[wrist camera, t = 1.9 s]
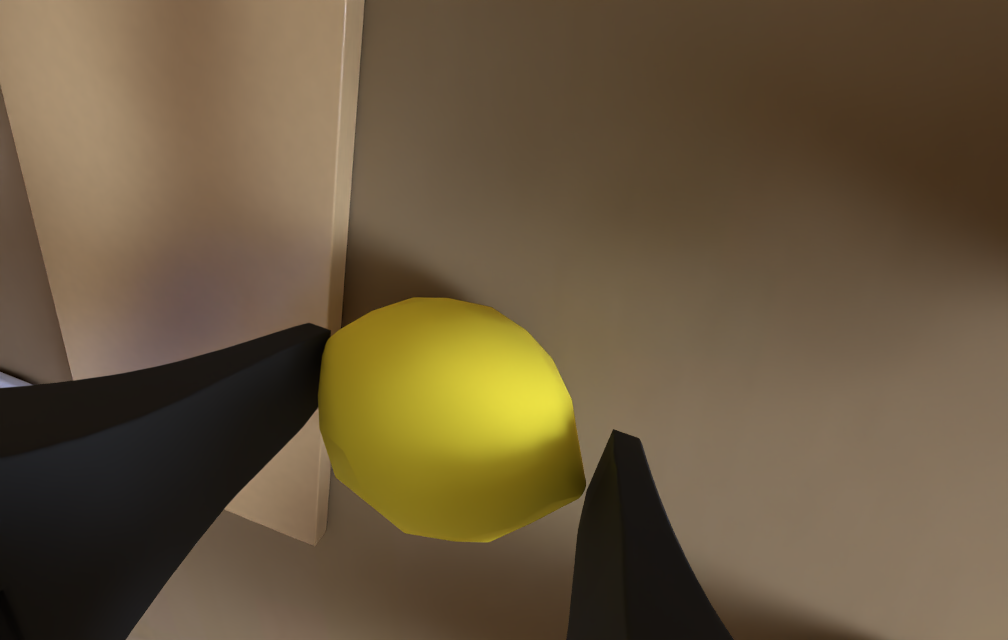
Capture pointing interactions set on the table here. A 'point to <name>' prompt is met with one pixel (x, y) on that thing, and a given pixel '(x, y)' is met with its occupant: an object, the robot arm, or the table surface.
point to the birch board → (191, 187)
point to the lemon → (448, 420)
